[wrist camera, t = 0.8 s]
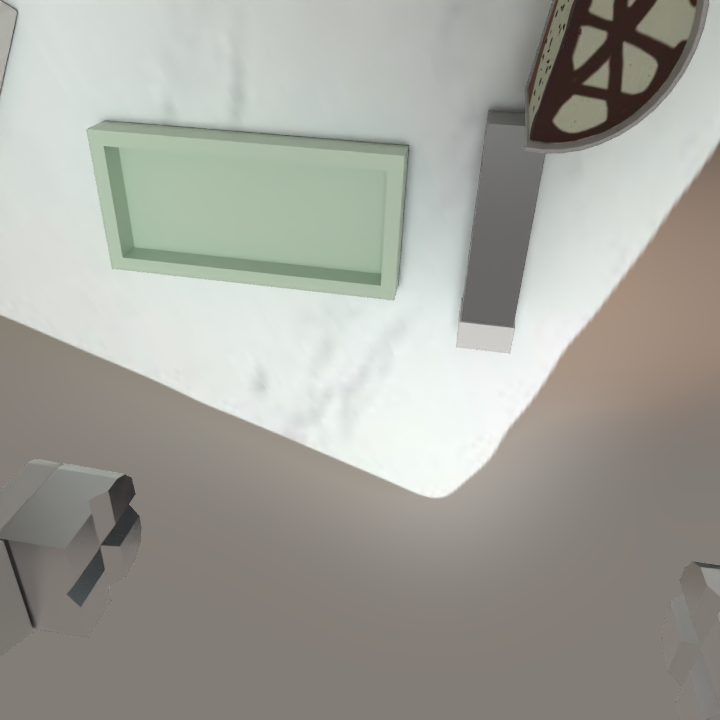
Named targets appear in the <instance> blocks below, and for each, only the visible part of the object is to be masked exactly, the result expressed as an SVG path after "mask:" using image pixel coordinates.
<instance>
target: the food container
mask: <svg viewBox="0 0 720 720" xmlns="http://www.w3.org/2000/svg"><path fill="white" fill-rule="evenodd" d="M708 6H709V0H553V2H552V5H551V8H550V11H549V14H548V18H547V21H546V24H545V27H544V30H543V34H542V37H541V40H540V43H539V47H538V50H537V53H536V56H535V59H534V63H533V66H532V69H531V72H530V75H529V79H528V82H527V85H526V88H525V137H526V145H525V146H522V148H521V149H522V150H524V151H530V152H537V153H566V152H573V151H579V150H583V149H587V148H590V147H593V146H596V145H600V144H602V143H604V142H606V141H609V140H611V139H613V138H615V137H617V136H619V135H621V134H622V133H624V132H626V131H627V130H629V129H630V128H632V127H633V126H635V125H637V124H638V123H639V122H640V121H642V120H643V119H644V118H645V117H646V116H648V115H649V114H650V113H651V112H652V111H654V110H655V109H656V108H657V107H658V105H659V104H660V103H661V102H662V101H663V100H664V99H665V98H666V97H667V96H668V95H669V93H670V92H671V91H672V90H673V88H674V87H675V85H676V84H677V83H678V81H679V80H680V78H681V77H682V75H683V74H684V73H685V71H686V69H687V67H688V65H689V63H690V61H691V59H692V57H693V55H694V53H695V51H696V49H697V46H698V43H699V40H700V38H701V35H702V32H703V29H704V26H705V21H706V16H707V11H708Z"/></svg>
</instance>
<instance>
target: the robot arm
mask: <svg viewBox="0 0 720 720" xmlns="http://www.w3.org/2000/svg"><path fill="white" fill-rule="evenodd" d="M134 496H135V489H134V485H133V481H132V478H131V477H129V476H127V475H125V474H120V473H115V472H109V471H104V470H98V469H93V468H87V467H82V466H76V465H70V464H61V463H56V462H50V461H44V460H39V459H36V460H33V461H30V462H28V463H26V464H25V465H24V466H23V467H22V468H21V469H20V470H19V471H18V472H17V473H16V474H15V475H14V476H13V477H12V478H11V480H10V481H9V482H8V483H7V484H6V485H5V486H4V487H3V488H2V489H1V490H0V657H1V656H2V655H4V654H5V653H6V652H8V651H9V650H10V649H12V648H13V647H14V646H16V645H17V644H18V643H20V642H21V641H23V640H24V639H26V638H27V637H28V636H30V635H31V634H32V633H33V632H34V631H33V629H36V630H43V631H49V632H55V633H61V634H68V635H74V636H80V637H87V638H89V637H90V635H91V633H92V632H93V630H94V628H95V627H96V625H97V623H98V622H99V620H100V618H101V617H102V615H103V613H104V612H105V610H106V609H107V606H108V605H109V604H110V602H111V595H110V589H109V586H111V585H112V584H114V583H116V582H117V581H119V580H121V579H122V578H124V577H126V575H127V574H128V572H129V570H130V568H131V567H132V565H133V563H134V561H135V558H136V555H137V552H138V549H139V546H140V542H141V522H140V517H139V515H138V514H137V513H136V512H135V510H134V509H133V508H132V507H131V506H130V505H129V503H130V502H131V500H132V499H133V497H134ZM680 584H681V587H682V590H683V593H684V594H683V595H681V596H680V597H678V598H676V599H674V600H672V601H671V602H670V604H669V607H668V609H667V612H666V614H665V617H664V623H663V633H662V641H663V642H662V643H663V653H664V658H665V662H666V667H667V671H668V672H669V673H670V674H671V675H672V676H673V677H674V679H675V680H676V681H677V682H678V683H679V684H680V685H681V686H682V688H681V690H680V692H679V694H678V697H677V699H676V701H675V703H676V707H677V711H678V715H679V719H680V720H720V565H714V564H707V563H700V562H693V561H692V562H690V563H689V564H688V565H687V566H686V567H685V569H684V571H683V573H682V575H681V578H680Z"/></svg>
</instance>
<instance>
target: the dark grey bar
mask: <svg viewBox="0 0 720 720" xmlns="http://www.w3.org/2000/svg"><path fill="white" fill-rule="evenodd" d="M525 145H526V137H525V113H515V112H502V111H488V117H487V125H486V132H485V139H484V147H483V154H482V162H481V169H480V177H479V184H478V191H477V199H476V206H475V214H474V221H473V229H472V236H471V243H470V251H469V258H468V266H467V273H466V281H465V288H464V295H463V298H462V300H461V307H460V315H459V323H458V333H457V344H456V347H460V348H468V349H476V350H485V351H493V352H502V353H510V351H511V346H512V341H513V335H514V330H515V323H514V320H515V314H516V309H517V304H518V298H519V293H520V287H521V282H522V277H523V271H524V266H525V260H526V255H527V250H528V244H529V239H530V233H531V228H532V223H533V217H534V212H535V207H536V201H537V196H538V190H539V185H540V180H541V174H542V169H543V163H544V158H545V153H537V152H530V151H524V150H522V149H521V148H522V146H525Z"/></svg>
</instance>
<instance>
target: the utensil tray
mask: <svg viewBox="0 0 720 720" xmlns="http://www.w3.org/2000/svg"><path fill="white" fill-rule="evenodd" d="M87 135H88V140H89V146H90V151H91V157H92V162H93V168H94V173H95V179H96V184H97V190H98V195H99V201H100V206H101V211H102V217H103V222H104V228H105V233H106V239H107V244H108V250H109V255H110V261H111V266H112V269H119V270H128V271H137V272H146V273H155V274H163V275H172V276H181V277H190V278H199V279H208V280H217V281H226V282H235V283H244V284H253V285H262V286H271V287H280V288H288V289H297V290H306V291H315V292H324V293H333V294H342V295H351V296H360V297H369V298H378V299H387V300H394V299H395V296H396V292H397V289H398V285H399V272H400V259H401V245H402V232H403V219H404V205H405V192H406V178H407V165H408V152H409V145H397V144H385V143H372V142H360V141H348V140H336V139H324V138H312V137H299V136H287V135H275V134H263V133H251V132H239V131H227V130H214V129H202V128H190V127H178V126H166V125H154V124H141V123H129V122H117V121H103V122H101V123H99V124H97V125H94V126H92V127H90V128H88V129H87Z"/></svg>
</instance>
